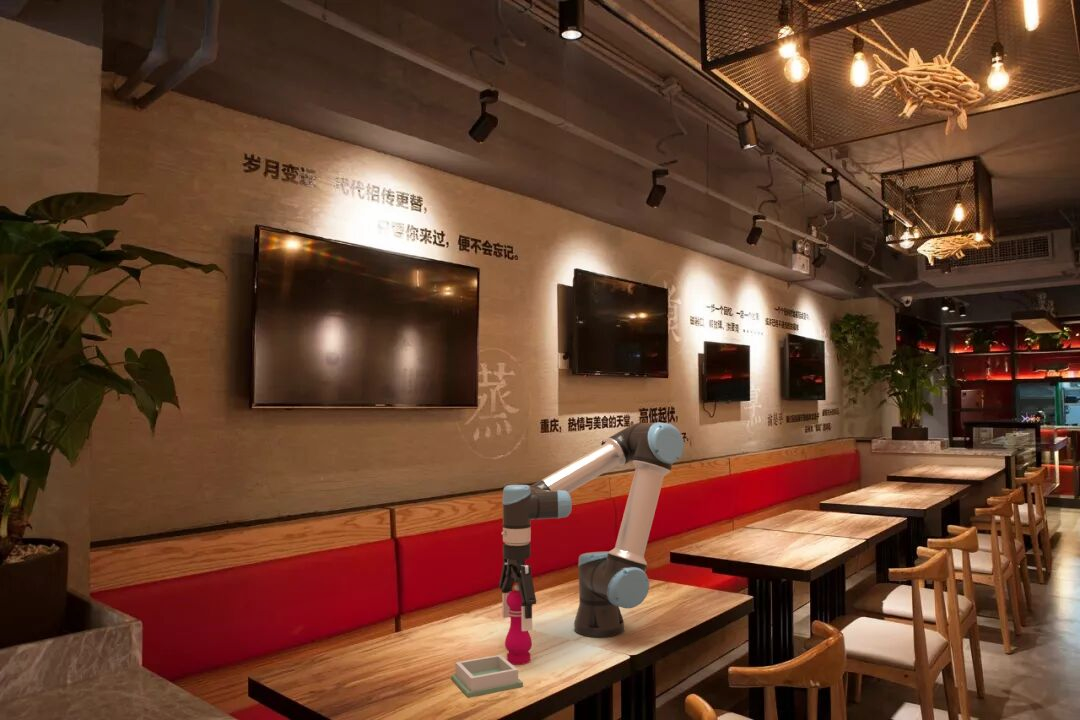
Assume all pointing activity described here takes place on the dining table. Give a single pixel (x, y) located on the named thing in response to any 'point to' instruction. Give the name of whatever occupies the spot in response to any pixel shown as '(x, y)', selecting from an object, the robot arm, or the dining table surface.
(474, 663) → the deck socket
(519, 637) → the pepper mill
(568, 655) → the dining table surface
